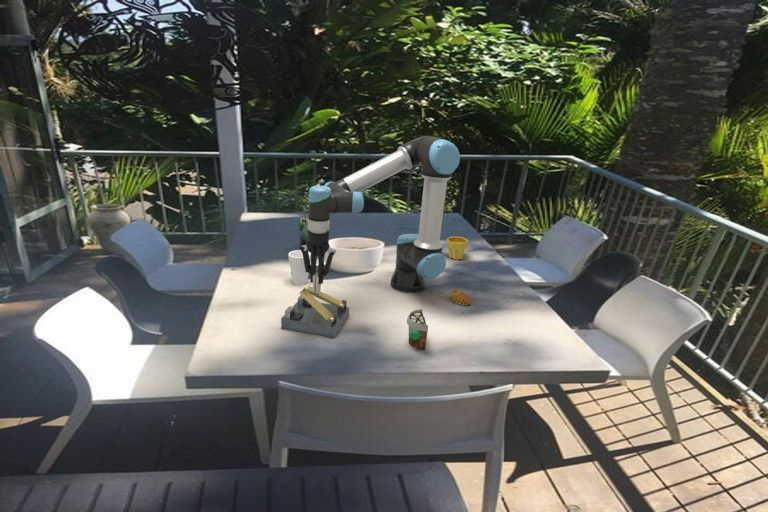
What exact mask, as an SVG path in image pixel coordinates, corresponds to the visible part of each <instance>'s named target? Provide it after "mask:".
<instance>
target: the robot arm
mask: <svg viewBox="0 0 768 512" xmlns="http://www.w3.org/2000/svg"><path fill="white" fill-rule="evenodd" d="M460 161H461V156H460V152H459V149H458V147H457V146H456V145H455V143H453V142H451V141H449V140H447V139H443V138H439V137H435V136H431V135H422V136H420V137H417V138H415V139H413V140H410V141H408V142H406V143H405V144H403V145H402V144H401V146H398V147H397V150H396V151H394V152H392V153H390V154H388V155H387V156H384V157H383V158H380V159H379V160H376V161H374V162H373V163H371V164H369V165H367V166H366V167H363V168H361V169H359V170H357V171H356V172H353V173H352V174H350V175H347V176H345V177H343V178H342V179H339V180H337V181H328V182H326V183H325V184H324V185H313V186H310V188H309V191H308V197H307V198H308V199H307V205H308V211H307V214H308V215H307V217H308V242H307V243H306V245H303V246H302V247H300V246H299V250H301V252H302V254H303V259H304V265H305V270H306V272H307V273H309V274H310V280H309V282H310V283H312V287H313V290H312V292H315V291H316V293H318V292H319V291H321V286H322V284H323V283H324V277H325V276H327V275H328V274H329V272H330V268H331V266H332V261H333V257H334V256H335V255H336V253H337V252H336V250H335V249H332V248H331V246H330V243H329V242H330V222H331V220H330V219H331V218H330V217H331V214H332V215H334V214H335V215H337V214H339V215H340V214H356V213H357V214H358V213H361V212H362V211H363V209H364V206H365V201H364V195H363V193H362V192H363V191H365V190H366V189H369V188H370V187H373V186H374V185H376V184H378V183H380V182H383V181H384V180H386V179H388V178H390V177H391V176H394V175H396V174H399V173H400V172H402V171H404V170H405V169H406V170H412V169H413V168H415V167H420V168H421V169H420V176H421V177H422V178H423V179H424V180H423V190H422V197H421V198H422V199H421V205H420V206H421V208H420V216H419V227H418V233H404V234H401V235H399V236H398V237H397V241H396V256H395V269H394V271H393V274H392V275H391V278H390V287H391V288H392V289H394V290H395V291H399V292H402V293H417V292H418V291H419V292H421V291H424V290H425V288H426V280H433V279H436V278H438V277H439V276H440V275H441V274H442V273H443V272H444V271H445V269H446V266H447V260H446V257H445V256H444V255H443V247H444V245H443V243H442V242H441V232H442V224H443V218H444V217H443V216H444V208H445V202H446V201H445V200H446V192H447V185H448V184H447V183H448V181H449V180H451V178H452V177H453V173H454V172H455V171H456V169H457V168H458V167H459V165H460ZM308 249H309V251H310V252H311V260H310V259H309V253H308ZM326 253H327V255H328V256H327V258H326V261H325V256H326V255H325V254H326ZM317 260H318V270H317ZM325 262H326V263H325ZM317 271H318V273H317Z"/></svg>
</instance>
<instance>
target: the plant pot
mask: <svg viewBox="0 0 768 512" xmlns="http://www.w3.org/2000/svg"><path fill="white" fill-rule="evenodd" d="M468 242H469V240H468V239H467V238H465V237H462V236H450V237H448V238H447V239H446V247H447V249H448V258H449V257H450V258H453V259H461V260H462V259H463V258H464V254H465V251H466V249H467V248H468V246H469V245H468V244H469V243H468ZM450 258H449V259H450ZM453 259H452V260H453Z"/></svg>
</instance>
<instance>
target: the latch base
mask: <svg viewBox="0 0 768 512" xmlns="http://www.w3.org/2000/svg"><path fill="white" fill-rule="evenodd" d="M347 301H348V300H344V299H342V300H341V302H344V303H345V304H346V305H345V306H344V308H343V306H340V305H338V308H337V307H335V306H333V305H331V304H329V303H326V302H320V303H321V304H322V305H323V306H324V307H325V308H326V309H327V310H328V311H329V312H330V313H331V314H332V315H333V316H335V320H334V321H333V322H332V320H331V319H327V320H326V319H325V318H324V317H323V316H322V315H321V314H320V313H319V312H318V311H317V310H316V309H315V308H314V307H313V306H312V305H311V304H310V303H309V302H308V301H307V300H305V299H304V298H303V297H302V296H301V295H300V294H299V296H298V297H297V301H296V303H294V304H293V305H292V306H291V305H289V306H288V307H287V308H286V309H285V310H284V315H283V316H281V318H280V325H281V329H285V330H290V331H295V332H301V333H307V334H311V335H318V336H323V337H330V338H334V339H335V338H336V336H337V335H338V334H339V332H340V331H341V329H342V328H343V326H344V325H345V324H346V322H347V320H349V318H350V306H347V304H348V303H347Z"/></svg>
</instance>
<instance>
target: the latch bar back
mask: <svg viewBox="0 0 768 512" xmlns="http://www.w3.org/2000/svg"><path fill="white" fill-rule="evenodd" d="M305 289H306V290H307V291H308V292H310V293H311V294H312V295H313V296H314V297H315V298H316V299H317V298H318V299H319V300H322V301H324V303H326V304H331V305H333V306H335V307H337V308H338V305H340V306H343V308H344V306H345V305H346V304H345V303H344V302H342V300H339V299H337V298H334V297H332V296H330V294H327V293H325V292H323V291H321V290H320V291H319V292H318V293H316V291H315V292H312V290H313V286H310V285H309V286H308V287H306V288H305Z"/></svg>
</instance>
